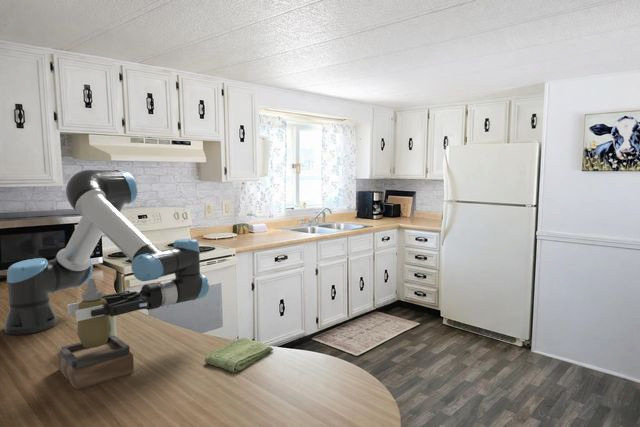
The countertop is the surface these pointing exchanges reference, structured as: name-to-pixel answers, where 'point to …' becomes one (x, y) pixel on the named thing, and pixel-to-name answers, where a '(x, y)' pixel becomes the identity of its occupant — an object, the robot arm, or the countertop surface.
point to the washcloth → (238, 354)
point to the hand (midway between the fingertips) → (72, 312)
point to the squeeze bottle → (93, 319)
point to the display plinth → (95, 362)
